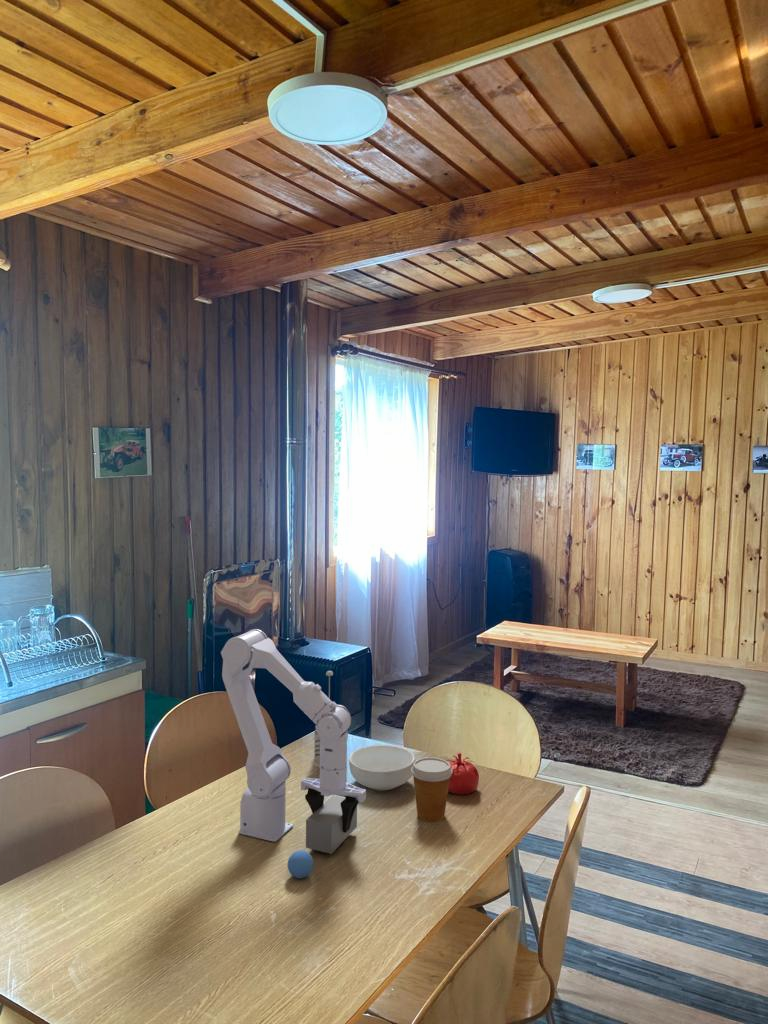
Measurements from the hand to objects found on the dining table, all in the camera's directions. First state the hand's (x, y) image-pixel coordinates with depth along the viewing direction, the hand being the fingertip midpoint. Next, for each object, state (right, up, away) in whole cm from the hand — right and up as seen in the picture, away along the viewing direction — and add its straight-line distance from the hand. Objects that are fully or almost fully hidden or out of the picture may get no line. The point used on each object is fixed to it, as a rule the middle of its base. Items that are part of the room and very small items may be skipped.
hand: (332, 827), depth 160 cm
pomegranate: (+30, -3, +28) cm, 41 cm away
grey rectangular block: (0, -2, 0) cm, 2 cm away
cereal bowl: (+10, -2, +30) cm, 32 cm away
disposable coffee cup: (+22, -3, +14) cm, 26 cm away
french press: (-3, -1, +44) cm, 44 cm away
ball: (-5, -2, -13) cm, 14 cm away
